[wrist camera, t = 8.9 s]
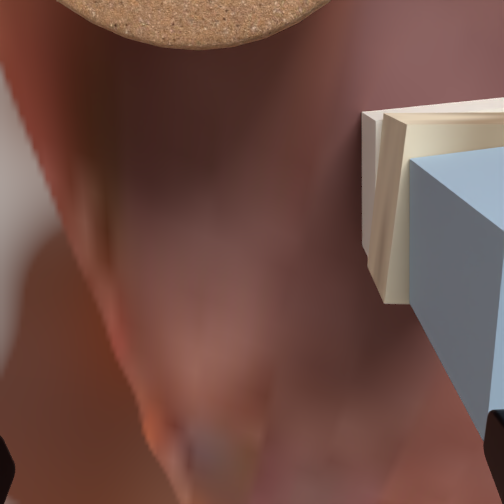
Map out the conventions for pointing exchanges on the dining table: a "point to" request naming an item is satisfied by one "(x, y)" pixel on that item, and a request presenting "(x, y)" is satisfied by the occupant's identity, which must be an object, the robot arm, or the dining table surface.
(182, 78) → the dining table surface
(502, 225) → the blue block
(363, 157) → the slab bottom
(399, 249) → the slab top
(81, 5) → the lidded jar
